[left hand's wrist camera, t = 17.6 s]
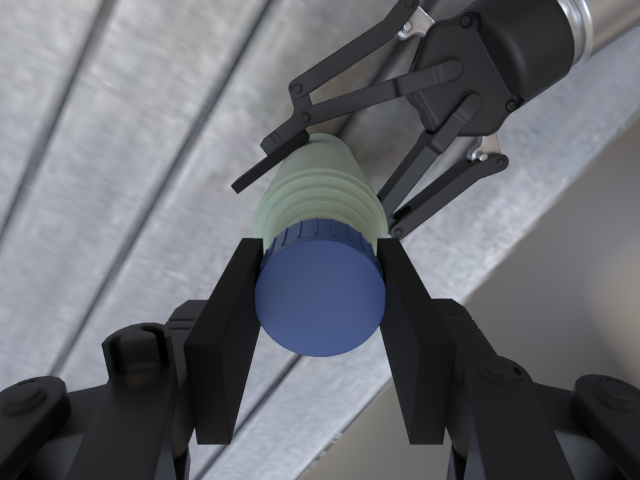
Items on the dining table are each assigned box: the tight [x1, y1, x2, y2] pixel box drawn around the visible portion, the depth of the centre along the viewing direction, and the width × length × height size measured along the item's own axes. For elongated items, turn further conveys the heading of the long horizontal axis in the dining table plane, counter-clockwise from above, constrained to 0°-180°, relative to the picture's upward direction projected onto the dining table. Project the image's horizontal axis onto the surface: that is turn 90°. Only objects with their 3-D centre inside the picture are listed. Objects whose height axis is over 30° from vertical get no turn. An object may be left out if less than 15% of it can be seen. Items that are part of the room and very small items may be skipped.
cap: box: [255, 218, 386, 357], centre depth 13 cm, size 4×4×2 cm
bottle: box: [252, 133, 388, 256], centre depth 24 cm, size 6×6×24 cm
